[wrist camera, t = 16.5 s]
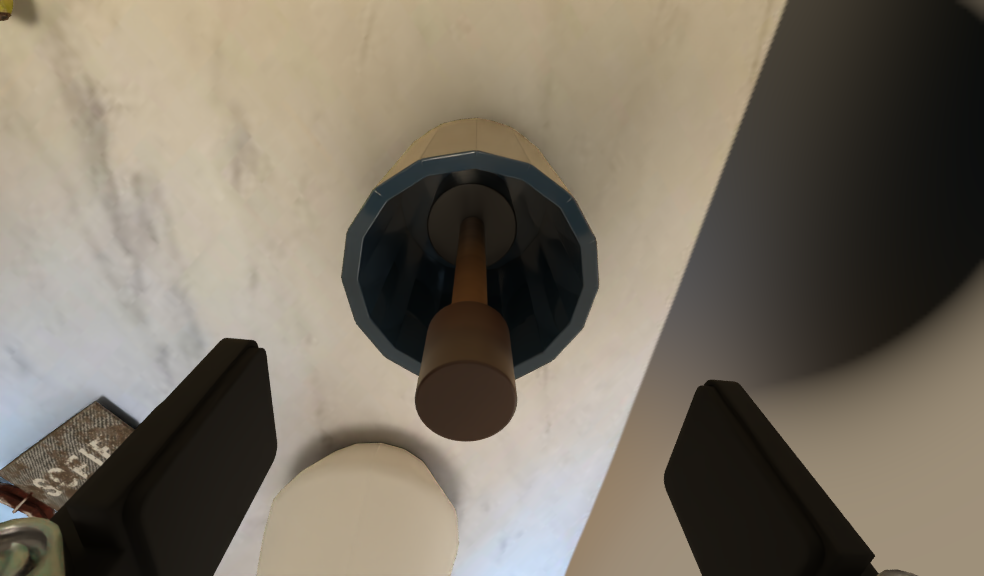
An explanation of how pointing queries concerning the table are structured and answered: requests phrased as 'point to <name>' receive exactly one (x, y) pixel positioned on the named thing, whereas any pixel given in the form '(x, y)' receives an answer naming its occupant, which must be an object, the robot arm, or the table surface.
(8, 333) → the table surface
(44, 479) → the keychain
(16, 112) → the table surface
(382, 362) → the table surface
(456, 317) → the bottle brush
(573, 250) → the container
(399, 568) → the cup
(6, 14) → the banana
